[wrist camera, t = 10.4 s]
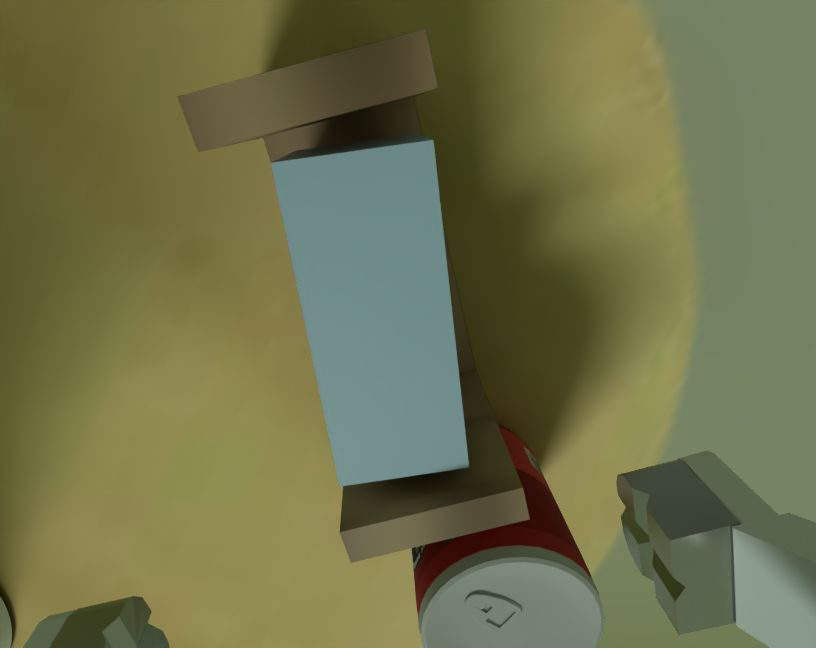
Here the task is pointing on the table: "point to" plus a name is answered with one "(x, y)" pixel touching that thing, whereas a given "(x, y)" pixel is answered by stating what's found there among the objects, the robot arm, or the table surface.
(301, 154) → the pale blue block
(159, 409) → the table surface
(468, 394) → the peg stand
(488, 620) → the canned food
